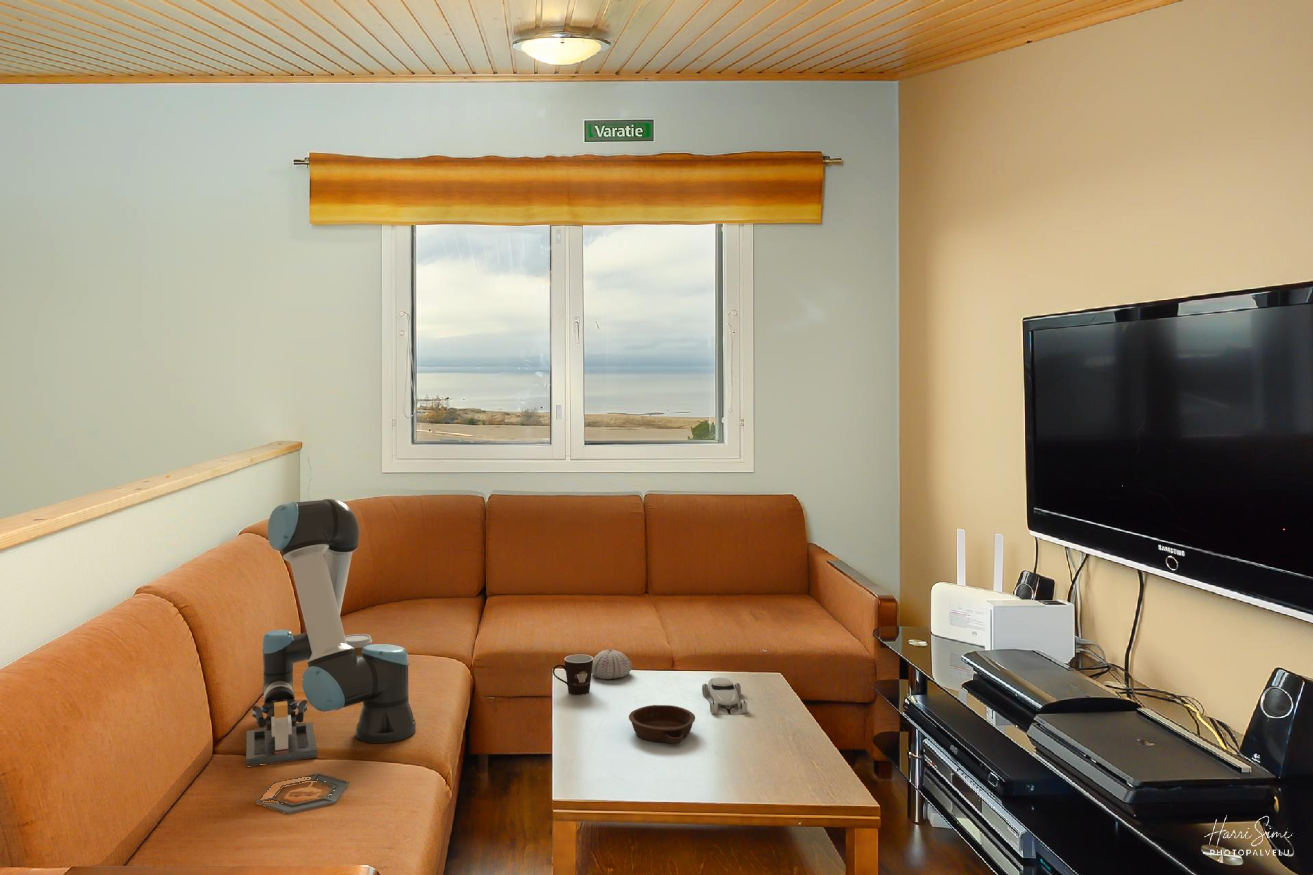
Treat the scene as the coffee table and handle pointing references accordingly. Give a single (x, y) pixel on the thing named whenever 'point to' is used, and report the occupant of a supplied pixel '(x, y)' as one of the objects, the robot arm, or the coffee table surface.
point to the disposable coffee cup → (358, 642)
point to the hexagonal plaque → (291, 808)
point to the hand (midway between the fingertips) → (281, 729)
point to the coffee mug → (577, 673)
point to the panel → (298, 749)
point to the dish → (662, 723)
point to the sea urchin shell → (610, 665)
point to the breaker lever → (281, 725)
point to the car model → (724, 697)
